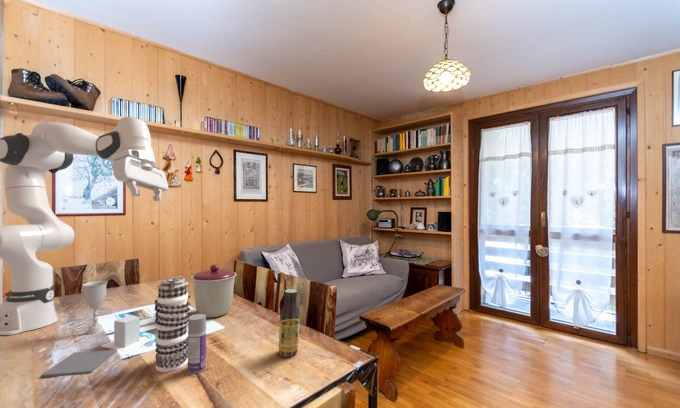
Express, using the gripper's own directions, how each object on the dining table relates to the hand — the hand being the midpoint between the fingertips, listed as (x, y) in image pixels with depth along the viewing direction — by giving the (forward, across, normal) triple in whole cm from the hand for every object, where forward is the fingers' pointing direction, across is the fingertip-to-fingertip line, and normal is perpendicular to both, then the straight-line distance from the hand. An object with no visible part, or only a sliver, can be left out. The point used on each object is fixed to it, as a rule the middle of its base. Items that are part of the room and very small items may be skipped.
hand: (147, 198), depth 98 cm
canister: (+44, -37, -7) cm, 58 cm away
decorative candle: (+53, +2, 0) cm, 53 cm away
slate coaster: (+45, +5, -25) cm, 52 cm away
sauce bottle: (+62, -8, +31) cm, 69 cm away
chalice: (+37, -14, -39) cm, 56 cm away
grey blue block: (+43, -8, -22) cm, 49 cm away
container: (+56, +4, +8) cm, 57 cm away
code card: (+44, -8, -22) cm, 50 cm away
